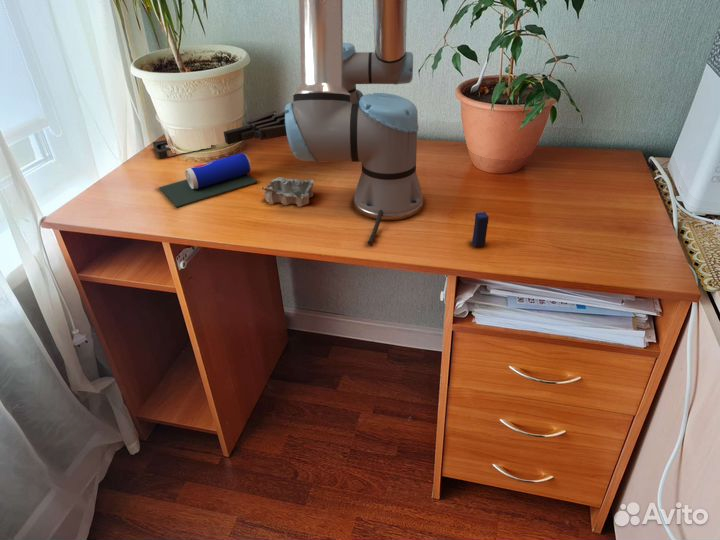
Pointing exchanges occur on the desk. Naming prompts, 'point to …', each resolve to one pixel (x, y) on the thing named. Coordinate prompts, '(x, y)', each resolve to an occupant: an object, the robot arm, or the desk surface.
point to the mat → (203, 190)
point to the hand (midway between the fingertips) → (225, 138)
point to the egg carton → (289, 191)
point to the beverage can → (218, 171)
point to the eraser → (480, 229)
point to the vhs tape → (163, 149)
